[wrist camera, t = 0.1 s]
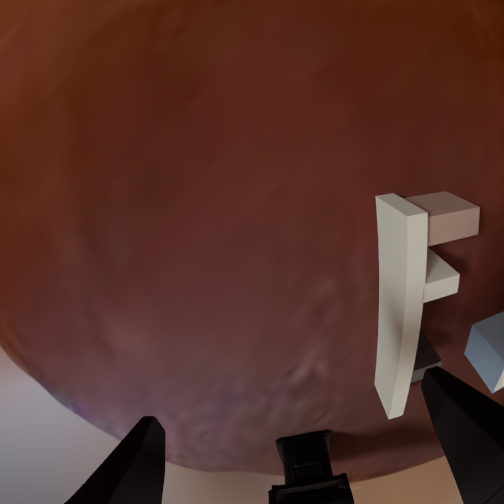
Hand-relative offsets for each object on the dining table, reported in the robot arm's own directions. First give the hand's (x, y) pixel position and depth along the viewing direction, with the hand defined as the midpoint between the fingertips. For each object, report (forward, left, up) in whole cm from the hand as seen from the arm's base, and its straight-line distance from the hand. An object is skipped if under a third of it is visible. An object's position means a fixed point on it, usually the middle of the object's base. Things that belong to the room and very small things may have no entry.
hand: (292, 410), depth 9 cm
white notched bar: (-8, -12, -15) cm, 21 cm away
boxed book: (-16, -25, -15) cm, 33 cm away
